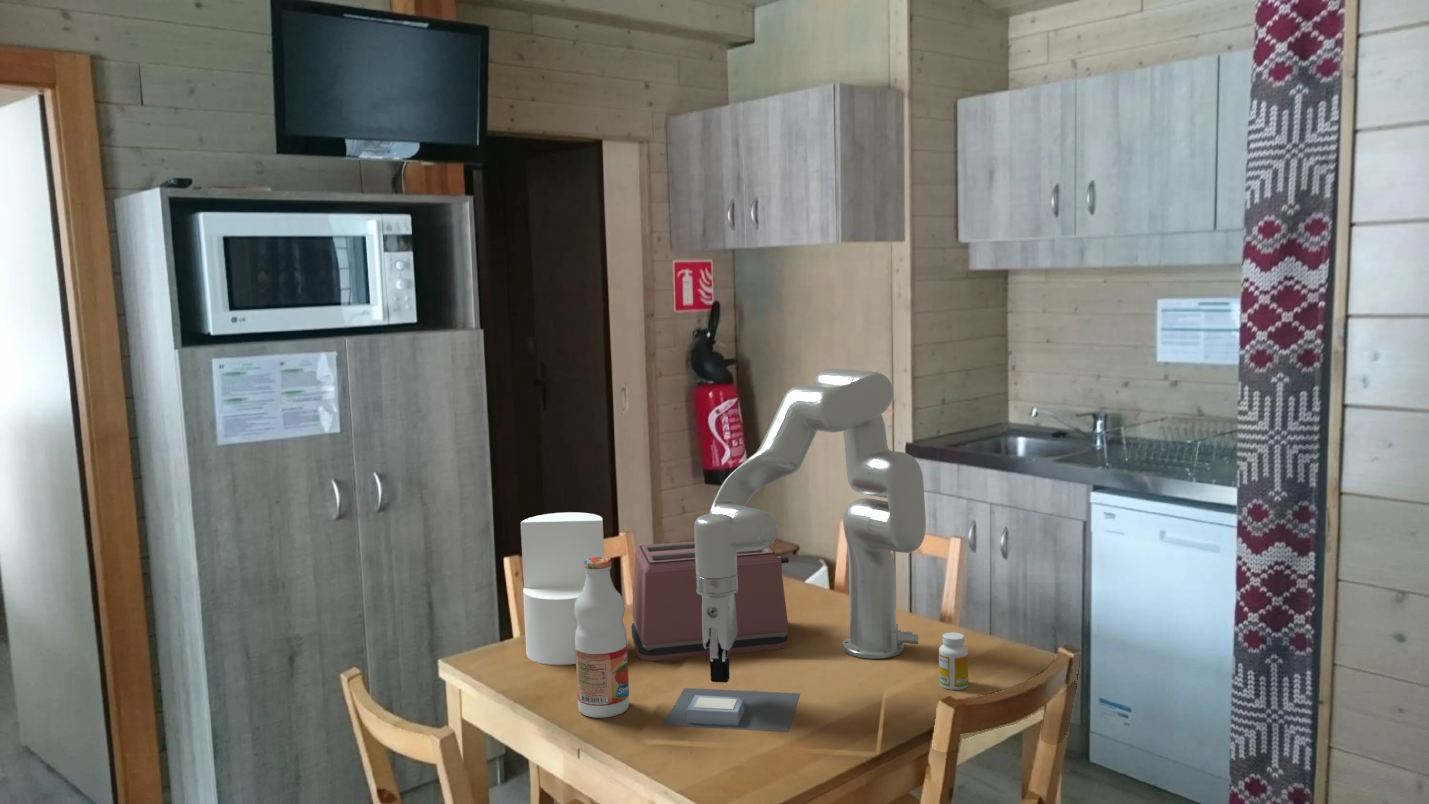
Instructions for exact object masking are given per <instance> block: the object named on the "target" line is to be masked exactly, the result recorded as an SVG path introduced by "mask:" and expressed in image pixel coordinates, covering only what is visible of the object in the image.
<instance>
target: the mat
mask: <svg viewBox="0 0 1429 804" xmlns="http://www.w3.org/2000/svg"><path fill="white" fill-rule="evenodd" d="M695 695H699V696H720V697H740V698H744V713H743V715H742V717H741V720H740V722H739V724H738V726H736V725H718V724H699V723H687V709H688V707H689V705H690V703H691V701H692V699H693V698H694V696H695ZM800 695H801V693H800V692H799V693H797V692H782V691H781V692H777V691H776V692H775V691H758V690H755V691H754V690H733V689H718V688H717V689H712V688H698V687H697V688H692V687H684V688H683V690H682V691H681V692H680V694H679V696H678V698H677V700H676V701H675V704H674V705H673V707H672V708H671V710H670V712H669V713H668V715H667V717H666V718H665V720H664V722H663V724H662V726H667V727H668V726H670V727H689V728H704V729H705V728H706V729H707V728H708V729H723V730H724V729H726V730H744V731H760V732H780V733H789V731H790V727H791V725H792V722H793V718H794V714H795V711H796V708H797V705H798V702H799V699H800Z"/></svg>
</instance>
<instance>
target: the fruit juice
mask: <svg viewBox="0 0 1429 804" xmlns="http://www.w3.org/2000/svg"><path fill="white" fill-rule="evenodd" d="M584 569H585V570H586V580H585V584H584V587H583V590H582V592H581V593H580V595H579V596H578V598H577V599H576V602H575V606H574V612H575V616H576V619H577V623H578V626H577V629H576V633H575V651H576V664H575V668H576V669H575V670H576V690H577V707H578V710H579V712H580V714H581V715H584V716H586V717H589V718H596V719H598V718H602V719H603V718H610V717H611V718H612V717H615V716H619V715H621V714H623V713H625V712H626V711H627V710H628V708H629V706H630V684H629V682H630V680H629V660H628V638H627V630H626V627H625V625H624V622H623V619H624V616H625V609H626V607H625V600H624V598H623V596H622V595H621V594H620V593H619V591H618V590H617V589H616V587H615V586H614V583H613V580H612V578H611V569H612V560H611V558H610V557H609V556H608V557H607V556H604V557H591V558H588V559H586V560H585V561H584Z"/></svg>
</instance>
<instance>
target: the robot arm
mask: <svg viewBox="0 0 1429 804" xmlns="http://www.w3.org/2000/svg"><path fill="white" fill-rule="evenodd" d="M893 396H894V388H893V384H892V382H891V381H890V379H889V378H888V377H887V375H884V374H883V373H881V372H878V371H871V370H859V369H858V370H854V369H845V368H831V369H829V368H828V369H826V370H823V371H821V372H819V373H818V374H817V375H816V376H815V378H814V381H813V385H809V384H808V385H806V384H805V385H802V384H801V385H796V386H793V387H792V388H789V390H788V391H787V392H786V393H785V394H784V396H783V398H782V400H781V403H780V405H779V407H778V409H777V410H776V413H775V414H774V417H773V419H772V421H771V423H770V425H769V427H768V430H767V431H766V434H765V435H764V438H763V440H762V442H761V444H760V446H759V448H758V449H757V451H756V452H755V453H754V454H752V455H751V456H750V457H748V458H747V459H745V460H744V461H743V462H742V463H741V464H739V466H738V467H737V468H735V469H734V470H733V471H732V472H730V473H729V475H728V476H727V477H726V478H725V480H724V481H723V483H722V484H721V486H720V488H719V489H718V491H717V493H716V494H715V495H716V496H715V498H714V499H713V502H712V504H711V506H710V509H709V512H708V514H703V515H700V516H698V517H697V518H696V520H695V521H694V524H693V531H694V532H693V533H694V535H693V536H694V541H695V565H696V592H697V593H698V594H700V595H702V637H703V647H704V648H705V649H706V650H707V649H708V648H710V656H709V660H710V661H709V663H710V664H709V665H710V666H709V667H710V681H711V682H712V683H728V682H729V680H730V659H729V654H728V650H729V649H730V648H731V647H732V645H733V643H734V641H735V639H736V637H737V633H738V630H737V616H736V602H735V593H736V592H737V591H738V578H737V553H738V552H748V551H759V550H763V549H765V548H767V547H771V546H772V545H773V543H774V542H775V540H776V539H777V537H778V533H779V525H778V522H777V520H776V518H775V517H774V516H773V515H772V514H770V512H767V511H765V510H762V509H758V508H753V507H750V506H747V504H748V502H749V501H750V500H751V498H752V497H753V496H754V494H756V493H757V492H758V491H759V490H760V489H762V488H764V487H765V486H767V485H769V484H772V483H774V482H777V481H779V480H781V479H784V478H787V477H789V476H792V475H794V474H796V473H797V472H798V471H799V470H800V469H801V467H802V465H803V461H804V459H805V458H806V455H807V453H808V451H809V449H810V446H811V445H812V443H813V440H814V439H815V436H816V434H817V433H818V432H825V433H826V432H827V433H832V434H834V433H841V432H842V433H843V440H844V441H843V442H844V453H845V454H844V455H845V465H846V476H847V482H848V484H849V486H850V488H851V489H852V490H853V491H855V492H857V493H859V494H863V495H868V496H873V497H880V498H884V499H887V501H885V500H881V499H875V498H867V497H866V498H858V499H856V500H853V501H852V502H851V503H850V504H848V506H847V507H846V508H845V511H844V514H843V519H842V520H843V521H842V522H843V523H842V524H843V525H842V526H843V531H844V537H845V541H846V545H847V553H848V556H847V557H848V583H849V585H848V586H849V590H848V591H849V593H848V594H849V595H848V596H849V637H847V638H845V639H844V640H843V642H842V650H843V651H844V652H845V653H847V654H849V655H851V656H854V657H857V658H861V659H862V658H863V659H872V660H873V659H875V660H876V659H888V658H893V657H896V656H898V655H900V654H902V653H903V652H904V650H905V644H912V645H913V644H914V645H918V644H919V634H916V633H915V634H914V633H913V632H914V631H902V630H901V629H899V624H898V623H897V600H896V599H897V597H896V596H897V593H896V592H897V591H896V590H897V587H896V586H897V584H896V583H897V581H896V579H897V578H896V576H897V575H896V574H897V573H896V570H897V569H896V562H895V558H894V555H893V554H892V553H893V552H896V553H902V554H911V553H913V552H915V551H918V550H919V548H920V547H921V546H922V543H923V542H924V539H925V535H926V527H927V522H926V518H927V517H926V504H925V503H926V502H925V501H926V499H925V488H924V487H925V486H924V485H925V484H924V476H923V472H922V468H921V466H920V464H919V462H918V460H917V459H916V458H915V457H914V456H913V455H911V454H909V453H907V452H903V451H902V452H901V451H896V450H890V449H889V446H888V439H887V432H886V430H887V429H886V424H885V420H884V417H883V415H882V414H884V413H885V412H886V411H887V410H888V408H889V407H890V405H891V403H892V401H893Z"/></svg>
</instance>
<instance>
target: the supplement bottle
mask: <svg viewBox="0 0 1429 804" xmlns="http://www.w3.org/2000/svg"><path fill="white" fill-rule="evenodd" d="M942 643H943V644H941V645H940V646H939V648H938V684H939V686H940V687H942V688H944V689H945V690H951V691H959V690H965V689H966V688H967V687H968V686H969V650H968V648H967V647H966V646H965V645H964V644H965V635H964V634H962V633H960V632H945V633H943V634H942Z"/></svg>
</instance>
